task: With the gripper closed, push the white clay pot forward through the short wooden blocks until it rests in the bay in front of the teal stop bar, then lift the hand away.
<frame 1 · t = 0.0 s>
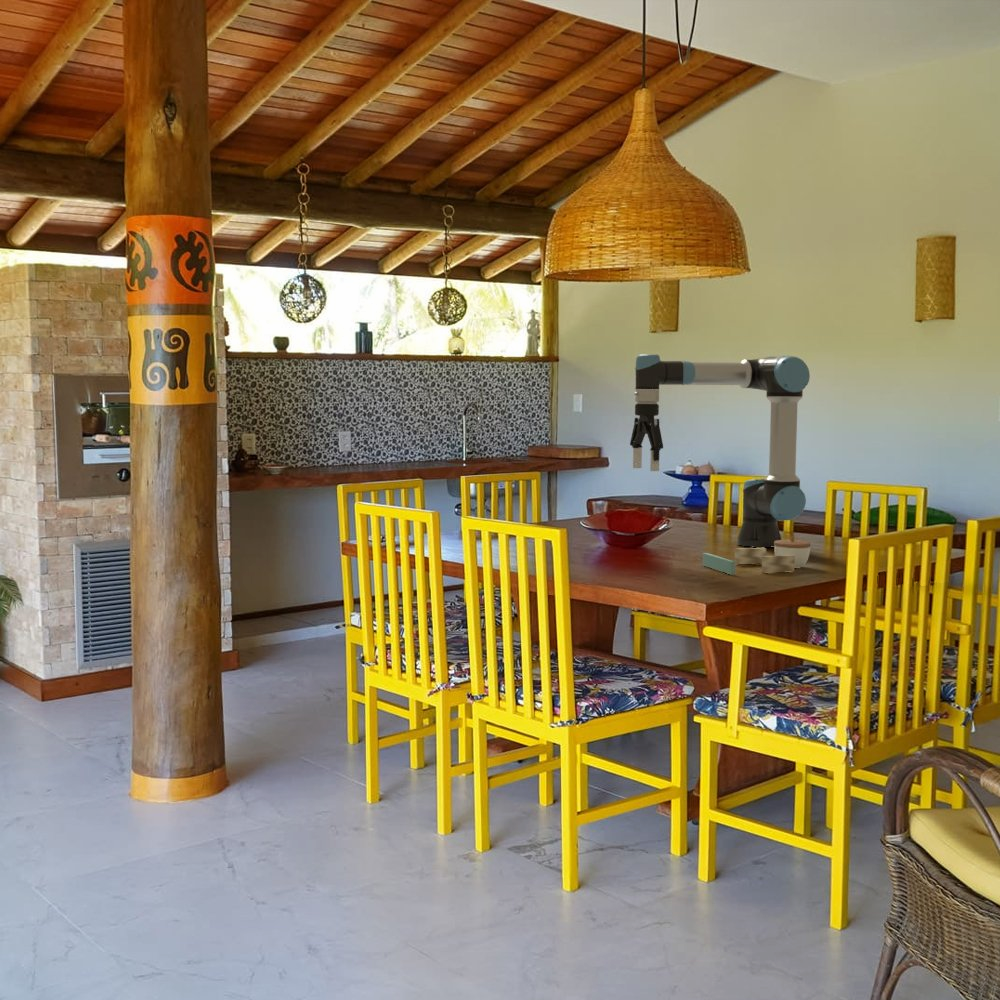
hand: (645, 469, 374), 28 cm above the table, tool pointing down, fingers open, 13 cm apart
wooden blocks: (763, 568, 352), on the table
stop bar: (718, 570, 348), on the table
lidded jar: (791, 567, 355), on the table
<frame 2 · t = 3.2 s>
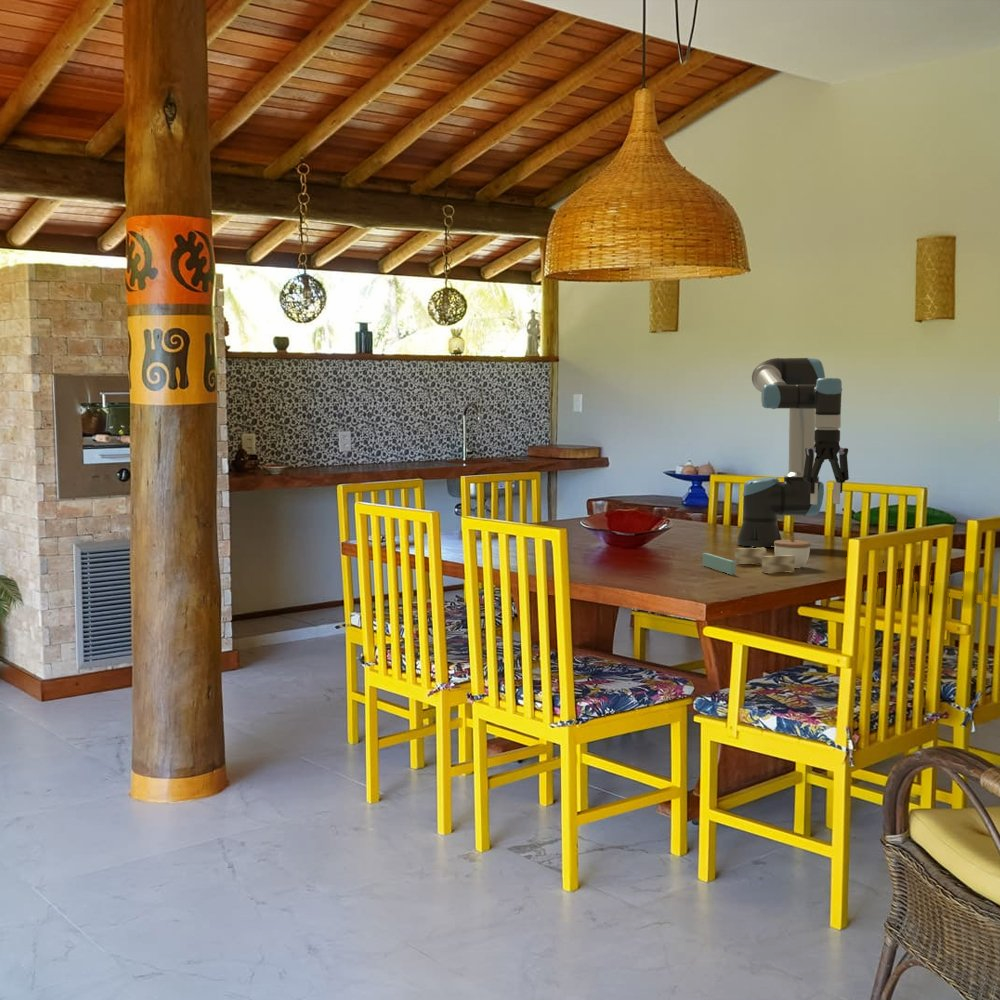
hand: (825, 503, 357), 19 cm above the table, tool pointing down, fingers open, 7 cm apart
nothing on the table moved.
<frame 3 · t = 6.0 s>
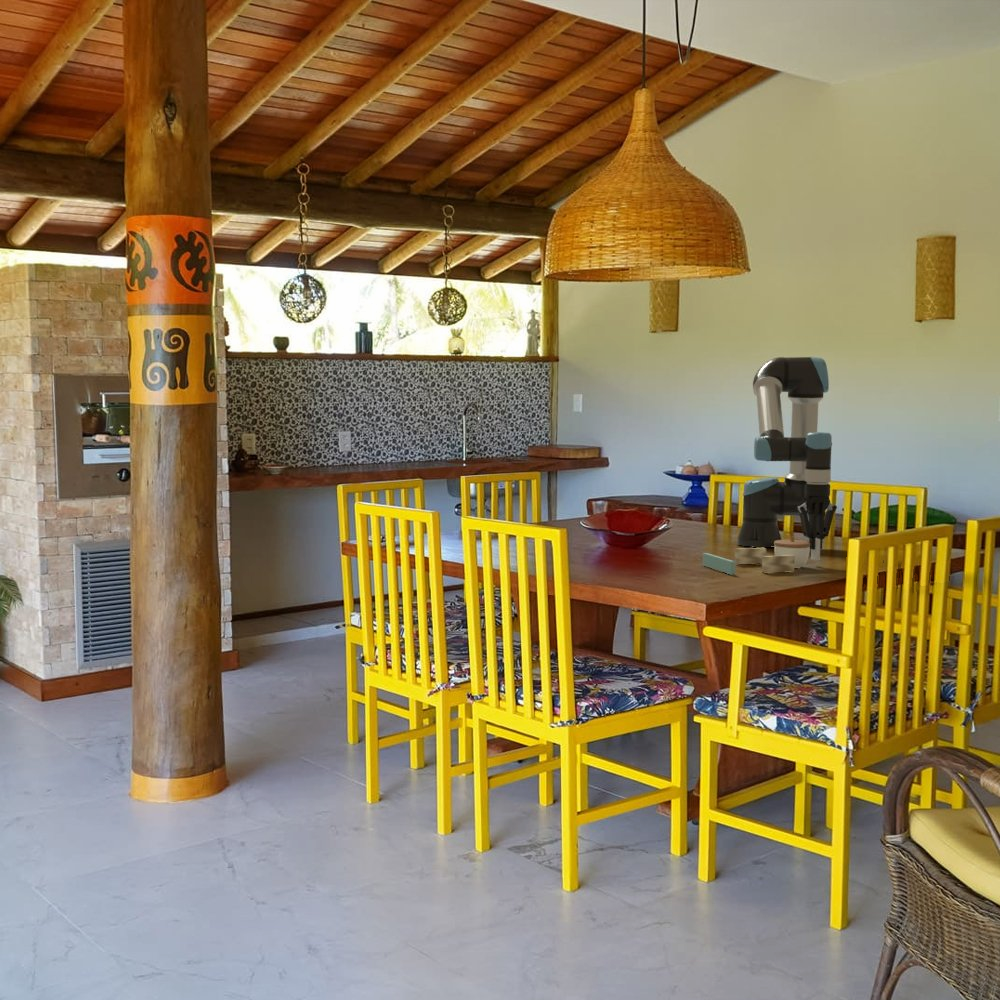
hand: (815, 559, 357), 2 cm above the table, tool pointing down, fingers closed
lidded jar: (791, 567, 355), on the table, touching gripper
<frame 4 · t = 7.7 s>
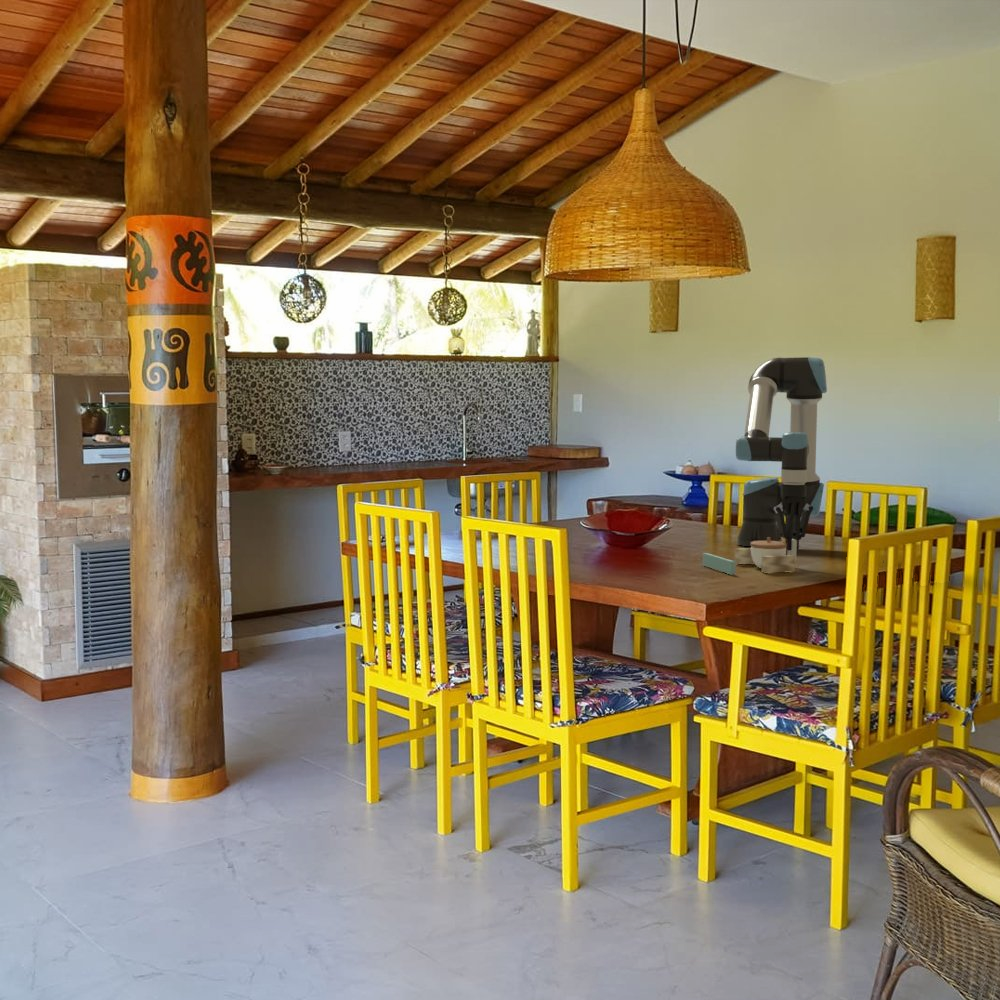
hand: (791, 560, 355), 2 cm above the table, tool pointing down, fingers closed
lidded jar: (767, 568, 353), on the table, touching gripper
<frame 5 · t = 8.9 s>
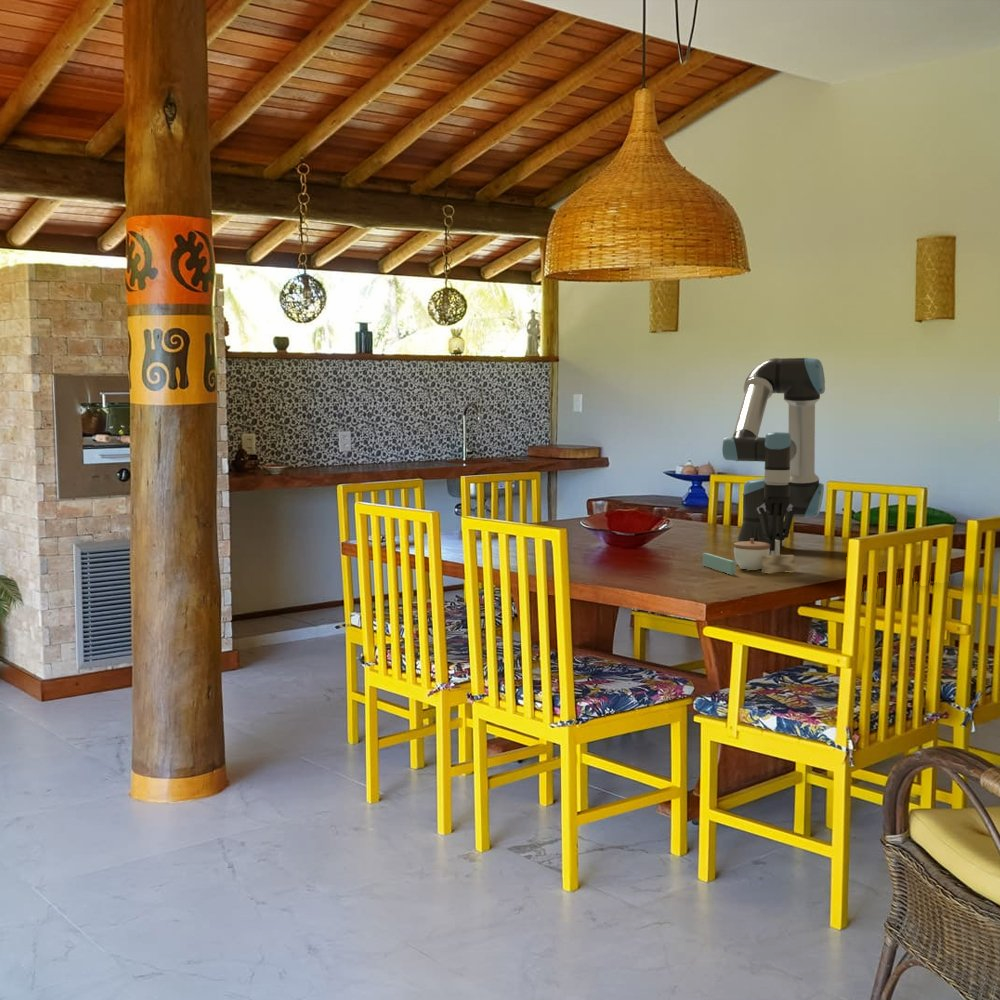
hand: (775, 561, 353), 2 cm above the table, tool pointing down, fingers closed
lidded jar: (751, 569, 351), on the table, touching gripper
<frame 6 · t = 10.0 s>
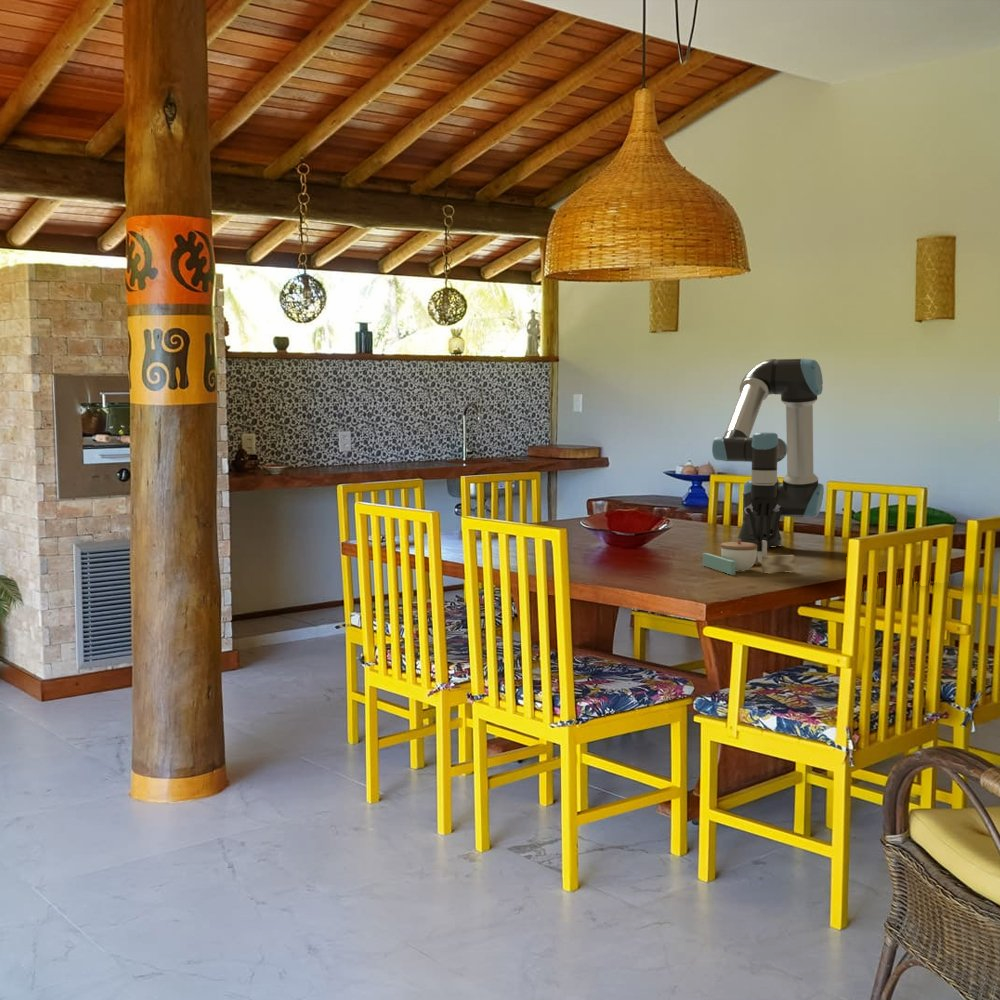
hand: (762, 561, 352), 2 cm above the table, tool pointing down, fingers closed
lidded jar: (738, 570, 350), on the table, touching gripper
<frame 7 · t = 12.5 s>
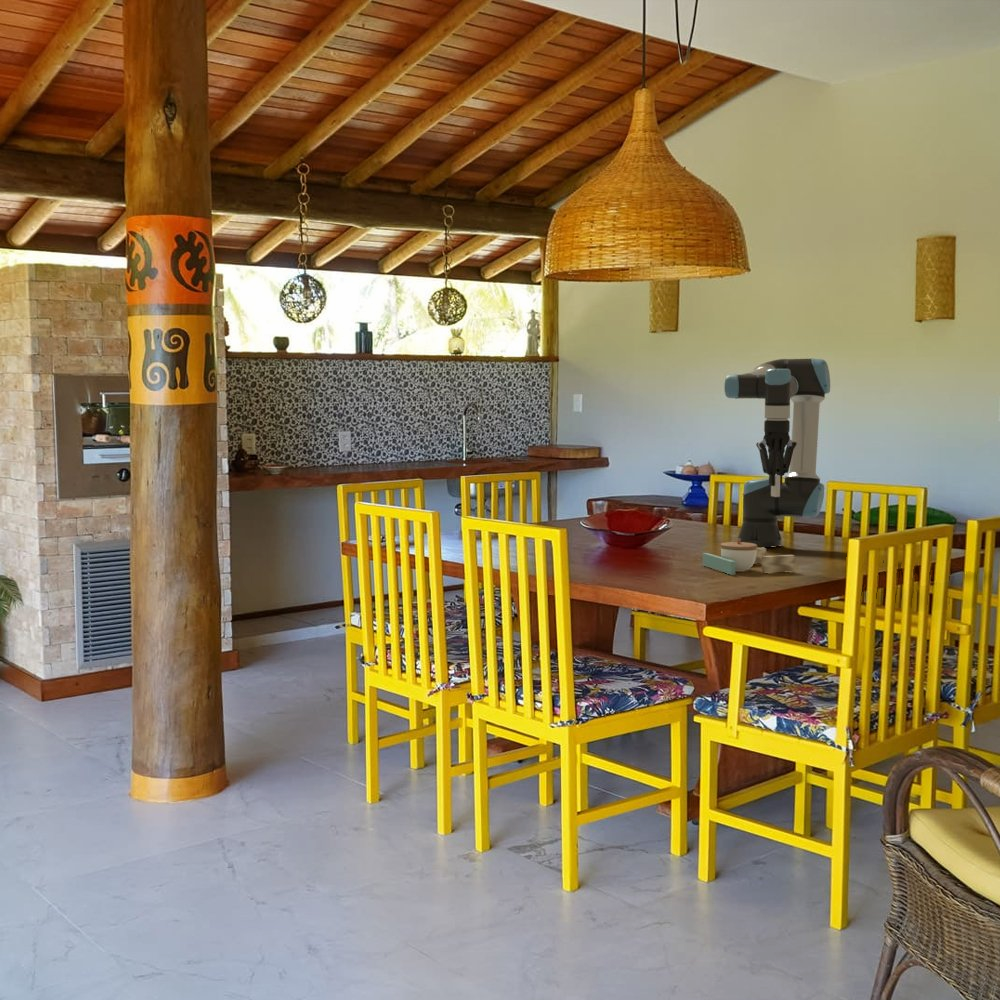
hand: (775, 496, 358), 21 cm above the table, tool pointing down, fingers closed
lidded jar: (738, 570, 350), on the table
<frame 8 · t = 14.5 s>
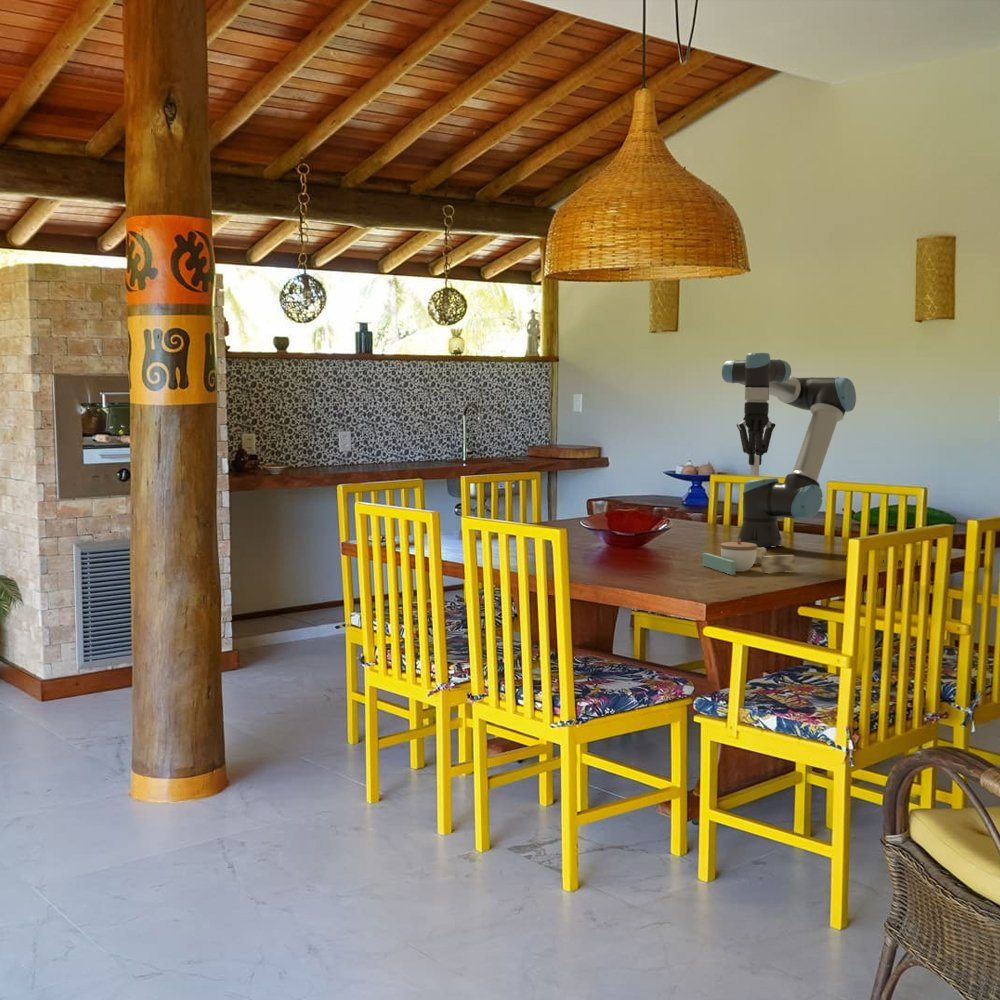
hand: (754, 475, 373), 26 cm above the table, tool pointing down, fingers closed
nothing on the table moved.
at the end: lidded jar inside the target area (0.4 cm from its centre), on the table; lidded jar tilted 0° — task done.
